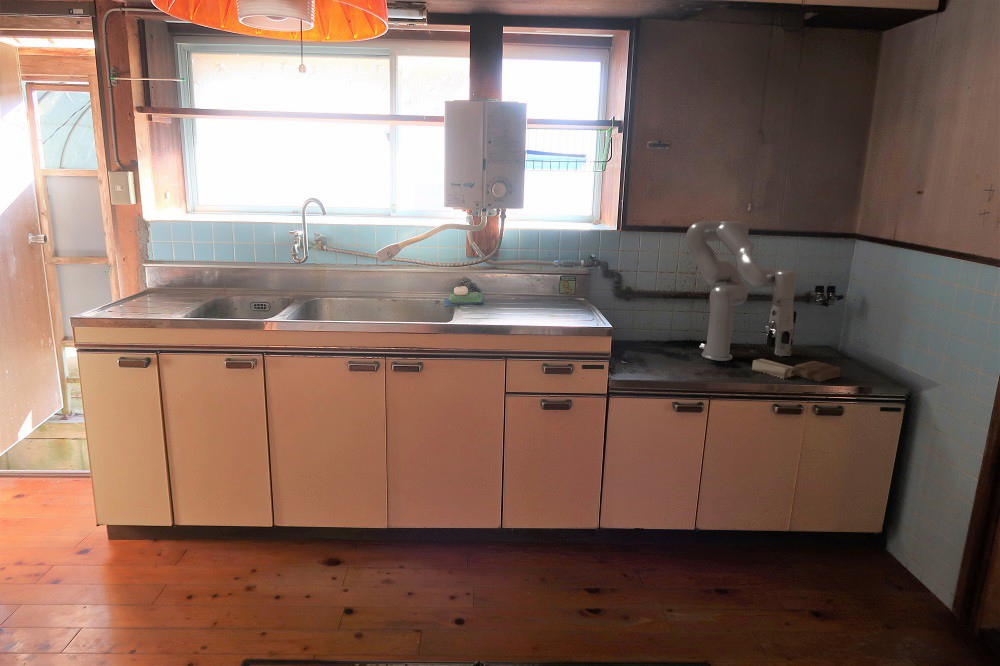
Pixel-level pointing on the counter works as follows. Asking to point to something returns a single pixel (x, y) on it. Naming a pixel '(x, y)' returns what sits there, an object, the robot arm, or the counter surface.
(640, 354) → the counter surface
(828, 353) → the counter surface
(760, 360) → the maple plank
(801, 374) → the brown grooved flat slab
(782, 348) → the spray can
